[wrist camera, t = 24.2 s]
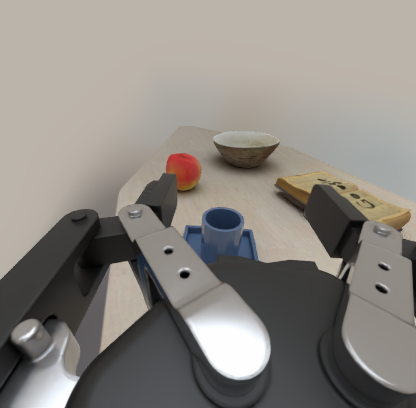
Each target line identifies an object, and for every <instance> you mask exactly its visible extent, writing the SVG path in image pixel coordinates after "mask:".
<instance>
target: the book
mask: <svg viewBox="0 0 416 408" xmlns="http://www.w3.org/2000/svg"><path fill="white" fill-rule="evenodd" d="M315 184H323V185H331V186H332V187H333V188H334V189H335V190H336V191H337V192H338V193H339V194H340V195H341V196H343V197H345V198H346V199H348V200H349V201H350V202H351V203H352V205H354V206H355V207H356V208H357V209H358V210H359V211H360V212H361V213H362V214H363V215H364V216H365V217H366V218H367V219H369V220H370V221H378V222H381V223H384V224H387V225H389V226H391V227H393V228H394V229H396V230H397V231H398V232H401V231H402V230H403V229H401V228H402V227H403V226H404V225H405V224H406V223H407V222H408V221H409V220H410V218H411V214H410V212H409V211H410V210H408V209H403V208H399V207H396V206H393V205H391V204H388V203H386V202H384V201H382V200H380V199H378V198H376V197H375V196H373V195H371V194H370V193H368V192H366V191H364V190H358V187H357V186H356V185H355V184H353V183H350V182H347V181H343V180H339V179H337V178H334V177H333V176H331V175H330V174H328V173H326V172H320V171H319V172H315V173H310V174H304V175H297V176H290V177H283V178H278V179H277V182H276V184H274V186H275V187H276V188H277V189H279V190H281V191H283V192H284V193H286V194H284V197H285V198H287V199H288V200H290V201H291V202H293V203H294V204H295V205H297V206H298V207H300V208H302V209H303V210H305V207H306V204H307V201H308V198H309V196H310V193H311V190H312V188H313V186H314V185H315ZM304 217H305V211H304ZM305 218H306V217H305Z"/></svg>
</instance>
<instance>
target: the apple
mask: <svg viewBox="0 0 416 408" xmlns="http://www.w3.org/2000/svg"><path fill="white" fill-rule="evenodd" d="M166 173H170V174H176V175H177V189H178V190H181V191H186V190H189V189H191V188H193V187H194V186H195V185H196V184H197V183H198V181H199V179H200V177H201V166H200V163H199V161H198V160H197V159H196V158H195V157H194V156H191V155H189V154H185V153H179V154H172V155H170V156H169V158H168V161H167V165H166Z"/></svg>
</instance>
